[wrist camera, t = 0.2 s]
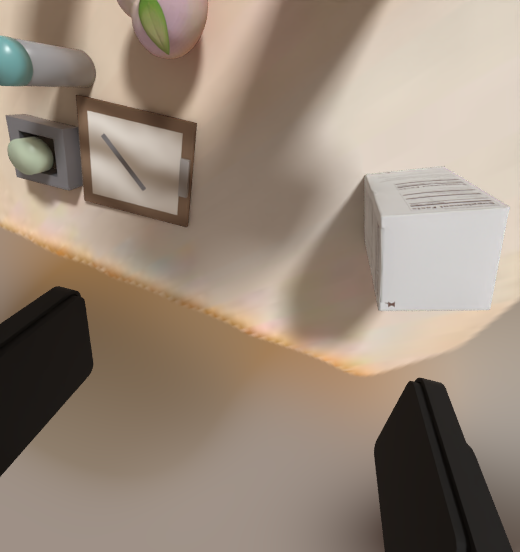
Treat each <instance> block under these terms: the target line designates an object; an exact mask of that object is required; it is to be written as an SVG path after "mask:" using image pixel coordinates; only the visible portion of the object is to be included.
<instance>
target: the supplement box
mask: <svg viewBox="0 0 520 552" xmlns="http://www.w3.org/2000/svg"><path fill="white" fill-rule="evenodd" d="M509 209H510V207H509V206H508V205H507V204H505V203H503V202H502V201H500V200H498V199H497V198H495V197H493V196H492V195H490V194H488V193H487V192H485V191H484V190H482V189H480V188H479V187H477V186H476V185H474V184H472V183H471V182H469V181H467V180H466V179H464V178H463V177H461V176H459V175H458V174H456V173H454V172H453V171H451V170H450V169H448V168H446V167H445V166H441V167H430V168H420V169H410V170H401V171H391V172H382V173H372V174H366V175H365V177H364V233H365V245H366V250H367V256H368V260H369V265H370V269H371V274H372V280H373V285H374V291H375V296H376V301H377V306H378V310H379V311H442V310H490V308H491V302H492V297H493V291H494V286H495V281H496V275H497V270H498V264H499V259H500V254H501V249H502V244H503V238H504V233H505V228H506V223H507V218H508V213H509Z"/></svg>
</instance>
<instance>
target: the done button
mask: <svg viewBox="0 0 520 552" xmlns="http://www.w3.org/2000/svg"><path fill="white" fill-rule="evenodd" d="M8 156H9V159H10V161H11V162H12V164H13V165H14V167H15V168H16V169H17V170H19V171H20V172H22V173H23V174H26V175H33V174H37V173H41V172H45V171H48V170H50V169H51V168H52V166H53V163H54V158H53V154H52V151H51V149H50V148H49V146H48V145H47V144H46V143H45V142H44V141H43V140H41V139H40V138H37V137H27V138H20V139H14V140H12V141H11V142H10V143H9V145H8Z"/></svg>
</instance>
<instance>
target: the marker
mask: <svg viewBox="0 0 520 552" xmlns="http://www.w3.org/2000/svg"><path fill="white" fill-rule="evenodd" d="M95 76H96V71H95V66H94V63H93V61H92V60H91V58H90V57H89V56H88V55H87V54H86V53H85V52H83V51H81V50H77V49H71V48H66V47H60V46H54V45H48V44H43V43H37V42H31V41H25V40H20V39H14V38H11V37H6V36H0V85H1V86H48V87H89V86H91V85H92V84H93V82H94V80H95Z"/></svg>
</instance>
